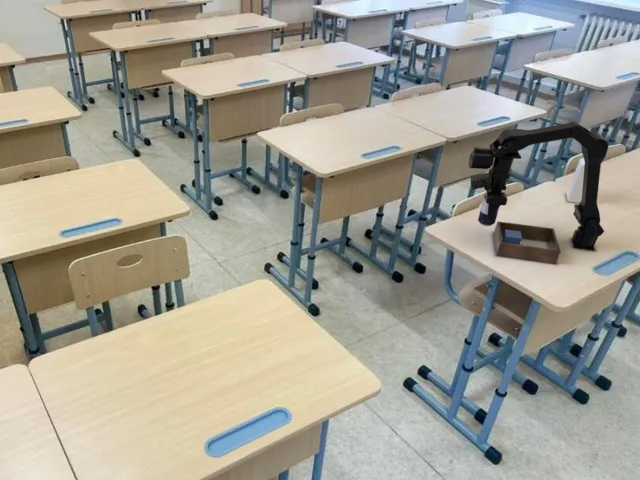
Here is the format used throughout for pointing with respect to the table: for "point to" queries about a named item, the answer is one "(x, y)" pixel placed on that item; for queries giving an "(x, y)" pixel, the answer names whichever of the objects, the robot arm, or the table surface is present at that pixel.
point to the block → (512, 237)
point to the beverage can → (483, 216)
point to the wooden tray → (527, 251)
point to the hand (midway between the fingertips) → (488, 211)
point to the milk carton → (577, 183)
